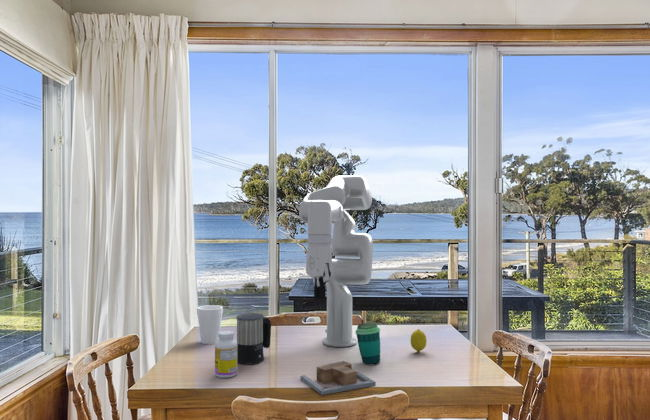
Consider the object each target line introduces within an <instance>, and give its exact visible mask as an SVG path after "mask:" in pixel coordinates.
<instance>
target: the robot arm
mask: <svg viewBox="0 0 650 420" xmlns="http://www.w3.org/2000/svg"><path fill="white" fill-rule="evenodd" d="M372 196H373V195H372V192H371V189H370V185H369V183H368V181H367V180H366V178H365V176H362V175H357V174H356V175H336V176H333V177H332V178H330V181H329V182H328V183H327V185H326V186H325V187H324V188H321V189H318V190H315V191H312V192H310V193H308V194H307V195H306V196H304V198H303V199H302V201H301V203H300V205H299V209H298V215H299V218H300V220H301V221H302V222H304V223H307V249H306V259H305V261H306V263H305V273H306V275H308V276H309V277H310V278H311V279H312V284H313V297H314V298H313V299H314V300H318V301H319V300H326V329H325V333H326V336H325V337H324V338H323V339H322V344H323V345H325V346H328V347H332V348H333V347H335V348H344V347H345V348H348V347H353V346H355V345H356V344H357V339H356V338H355V337H354V336H353V294H352V292H351V291H350V289H349V288H348V286H347V285H359V286H360V285H362V286H363V285H368V284H369V283H370V281H371V280H372V271H373V258H374V257H373V254H374V243H373V242H374V241H373V238H372V236H371V235H370V234H369V233H366V232H356V222H355V220H354V218H353V217H352V216H351V215H350V214H349V213H348V211H365V210H366V211H367V210H368V209H370V207H371V206H372V202H373V197H372ZM333 256H335V258H333Z"/></svg>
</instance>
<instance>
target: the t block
mask: <svg viewBox="0 0 650 420" xmlns="http://www.w3.org/2000/svg"><path fill="white" fill-rule="evenodd" d="M353 369H354V368H353V365H352V363H351V362H348V361H344V360H341V361H336V362H333V363H327V364H323V365H318V366H316V381H317V382H319V383H321V384H322V385H323V384H324V385H328V384H331V383H333V384H336V385H337V386H342V385H348V384H354V383H358V378H357V371H358V370H356V369H354V370H353Z"/></svg>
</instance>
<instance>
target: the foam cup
mask: <svg viewBox="0 0 650 420" xmlns="http://www.w3.org/2000/svg"><path fill="white" fill-rule="evenodd" d="M223 313H224V307H223V305H218V304H207V305H206V304H205V305H201V306H198V307H196V314H197V318H198V326H199V334H200V335H199V336H200V342H201V344H202V345H215V343H216V342H217V341H218V340H219V337H218V333H219V332H221V326H222V317H223Z"/></svg>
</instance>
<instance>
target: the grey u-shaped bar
mask: <svg viewBox="0 0 650 420" xmlns="http://www.w3.org/2000/svg"><path fill="white" fill-rule="evenodd" d="M352 369H353V370H355V369H354V368H352ZM356 371H357V380H358V379H359V380H360V381H361V382H360V381H359V382H357V383H354V384H348V385H342V386H340V385H337V386H333V387H332V386H331V387H327V388H324V387H323V386H321V385H320V384H319V383H317V382H316V381H314V380H313V379H311V378H310V377H309V376H307V375H306V374H302V375H300V377H299V378H300V381H302V382H304V383H305V384H306V385H308V386H309V387H310V388H312V389H313V390H314V391H316V392H317V393H318V394H320V395H321V396H324V395H329V394H335V393H341V392H346V391H347V392H348V391H351V390H357V389H358V390H359V389H362V388H367V387H368V388H369V387H373V386H376V383H377V382H376V381H375V380H374V379H372V378H370V377H368V376H366V375H364V374H362V373H361V372H360V371H358V370H356Z"/></svg>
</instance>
